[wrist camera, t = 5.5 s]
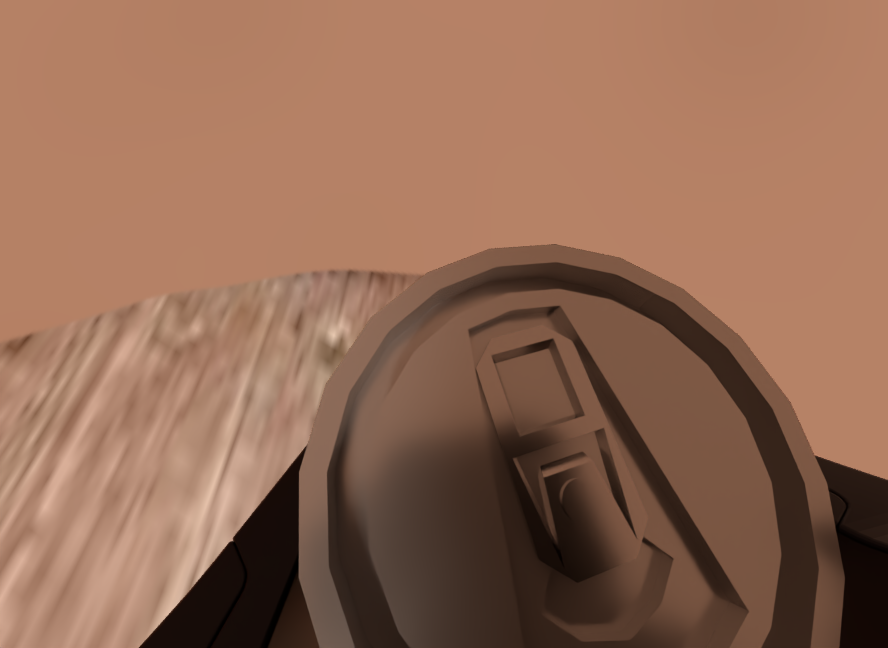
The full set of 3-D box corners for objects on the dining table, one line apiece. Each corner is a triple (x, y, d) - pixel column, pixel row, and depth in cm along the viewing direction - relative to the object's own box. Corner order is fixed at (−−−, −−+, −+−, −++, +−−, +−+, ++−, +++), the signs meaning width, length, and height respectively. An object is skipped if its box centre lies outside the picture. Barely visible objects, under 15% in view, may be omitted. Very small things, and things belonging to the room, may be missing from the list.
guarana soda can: (369, 411, 15) (232, 284, 4) (488, 377, 16) (680, 190, 4) (400, 553, 13) (333, 1161, 2) (531, 505, 14) (1008, 720, 3)
